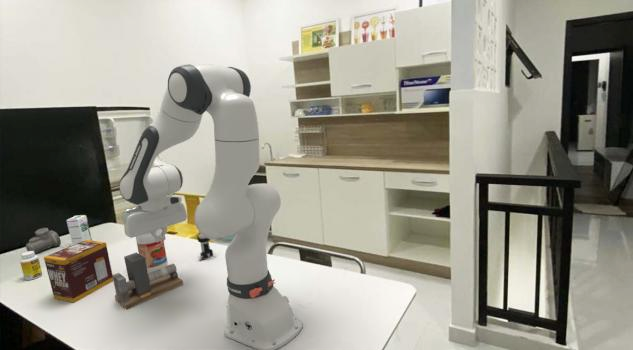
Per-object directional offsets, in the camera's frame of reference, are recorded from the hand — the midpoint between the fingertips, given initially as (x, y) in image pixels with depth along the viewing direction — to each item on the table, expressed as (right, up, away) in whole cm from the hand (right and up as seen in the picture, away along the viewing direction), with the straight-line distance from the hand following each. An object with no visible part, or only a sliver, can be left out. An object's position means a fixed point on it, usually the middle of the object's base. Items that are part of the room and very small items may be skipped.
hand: (160, 240), depth 121 cm
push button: (+8, -12, +24) cm, 27 cm away
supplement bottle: (-57, -18, +16) cm, 62 cm away
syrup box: (-57, -11, +45) cm, 74 cm away
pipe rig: (-3, -17, 0) cm, 18 cm away
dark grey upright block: (-5, -16, -3) cm, 17 cm away
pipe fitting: (-74, -13, +44) cm, 87 cm away
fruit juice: (-10, -14, +17) cm, 25 cm away
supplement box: (-29, -18, +4) cm, 35 cm away
